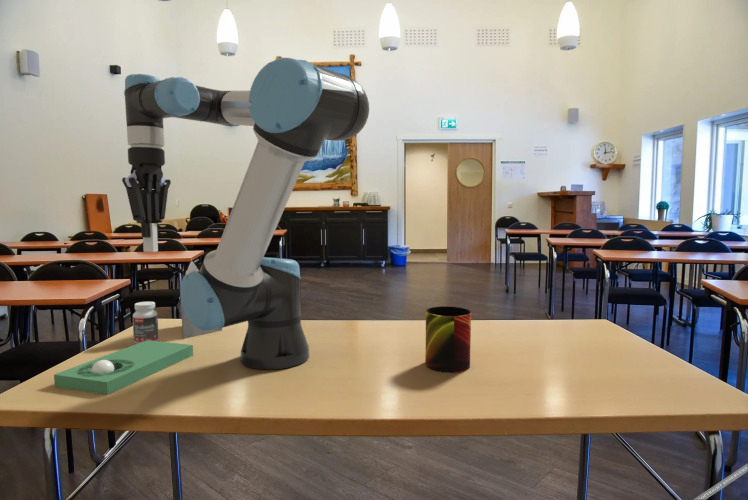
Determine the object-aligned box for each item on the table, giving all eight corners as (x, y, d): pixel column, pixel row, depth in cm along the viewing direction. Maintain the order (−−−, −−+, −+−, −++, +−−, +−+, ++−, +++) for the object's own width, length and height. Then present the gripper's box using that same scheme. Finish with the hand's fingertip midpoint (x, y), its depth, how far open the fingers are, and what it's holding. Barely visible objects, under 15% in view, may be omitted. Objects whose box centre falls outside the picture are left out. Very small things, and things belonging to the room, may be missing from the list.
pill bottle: (133, 346, 119) (131, 306, 118) (134, 339, 124) (132, 302, 123) (158, 343, 121) (156, 304, 120) (158, 337, 126) (157, 300, 125)
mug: (458, 351, 114) (459, 302, 113) (475, 372, 101) (477, 316, 99) (418, 352, 113) (418, 302, 112) (430, 373, 100) (431, 317, 98)
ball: (116, 381, 97) (120, 361, 98) (102, 382, 93) (107, 361, 94) (98, 378, 97) (103, 358, 98) (84, 379, 94) (89, 358, 94)
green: (147, 349, 116) (147, 340, 115) (193, 355, 112) (192, 345, 111) (54, 386, 93) (53, 374, 93) (107, 394, 89) (106, 382, 89)
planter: (212, 338, 125) (210, 264, 123) (182, 338, 125) (178, 264, 123) (230, 322, 142) (228, 257, 140) (203, 322, 141) (200, 257, 139)
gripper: (152, 150, 116) (156, 248, 118) (109, 144, 103) (115, 254, 106) (179, 150, 114) (183, 249, 116) (138, 144, 101) (144, 255, 104)
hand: (150, 251), depth 111 cm, fingers closed
